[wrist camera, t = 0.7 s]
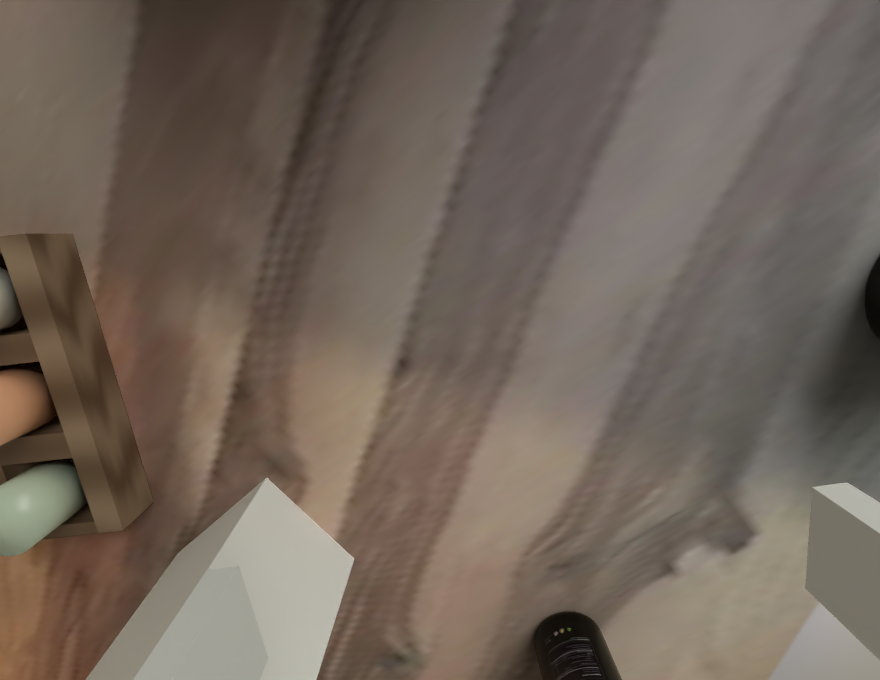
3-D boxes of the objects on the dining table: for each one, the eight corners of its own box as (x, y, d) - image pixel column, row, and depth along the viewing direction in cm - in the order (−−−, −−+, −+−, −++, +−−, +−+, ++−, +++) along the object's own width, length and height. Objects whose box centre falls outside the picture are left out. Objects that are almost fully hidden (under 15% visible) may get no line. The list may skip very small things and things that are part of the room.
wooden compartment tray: (-52, 248, 34) (-114, 250, 31) (72, 233, 34) (25, 233, 30) (46, 513, 40) (5, 543, 36) (153, 501, 40) (123, 530, 36)
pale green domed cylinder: (19, 463, 36) (-47, 499, 31) (79, 456, 35) (22, 491, 31) (39, 516, 37) (-22, 559, 32) (97, 510, 37) (45, 552, 32)
